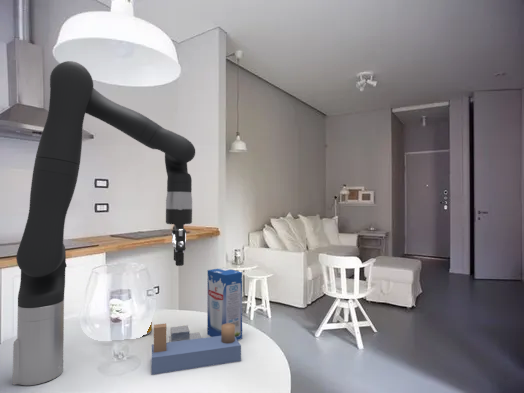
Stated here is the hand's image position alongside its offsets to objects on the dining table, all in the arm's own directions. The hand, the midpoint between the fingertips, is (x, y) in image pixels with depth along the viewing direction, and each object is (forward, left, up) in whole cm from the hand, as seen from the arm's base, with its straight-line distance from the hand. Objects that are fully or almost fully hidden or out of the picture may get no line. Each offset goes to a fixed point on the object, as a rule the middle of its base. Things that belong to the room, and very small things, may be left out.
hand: (178, 263), depth 97 cm
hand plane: (+4, -12, -24) cm, 27 cm away
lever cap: (+2, 0, -24) cm, 24 cm away
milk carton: (+14, +1, -24) cm, 28 cm away
